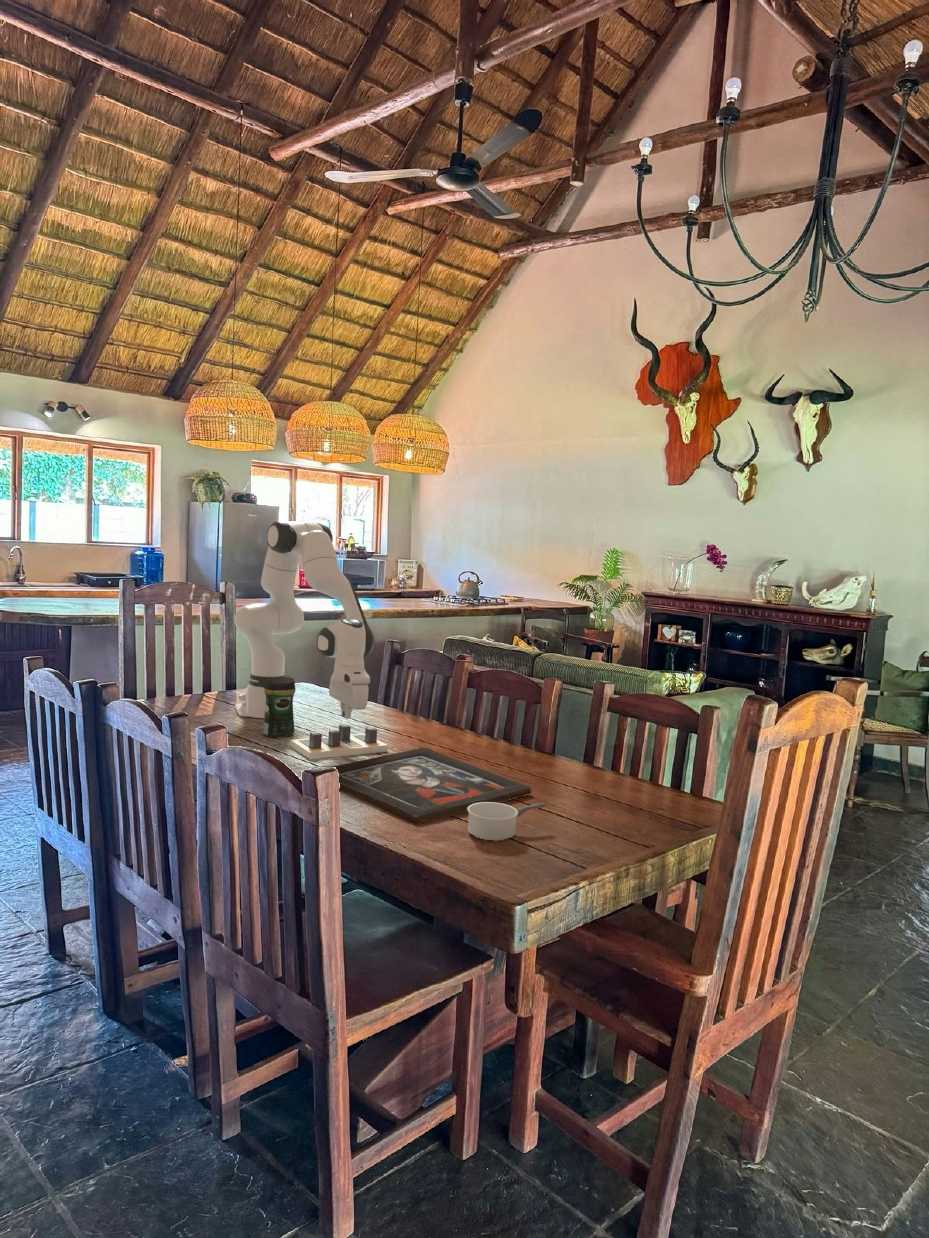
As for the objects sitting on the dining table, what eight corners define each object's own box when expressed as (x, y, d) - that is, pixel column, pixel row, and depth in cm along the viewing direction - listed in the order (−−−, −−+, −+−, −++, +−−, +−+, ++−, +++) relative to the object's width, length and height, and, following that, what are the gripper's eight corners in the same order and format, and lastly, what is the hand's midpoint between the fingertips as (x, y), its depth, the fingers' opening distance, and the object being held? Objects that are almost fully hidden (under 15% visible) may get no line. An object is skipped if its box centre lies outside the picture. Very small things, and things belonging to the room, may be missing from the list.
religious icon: (420, 754, 244) (420, 744, 243) (533, 796, 212) (534, 785, 212) (306, 777, 216) (307, 766, 215) (417, 829, 184) (418, 816, 184)
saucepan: (557, 834, 184) (559, 811, 183) (482, 847, 174) (484, 821, 173) (528, 818, 194) (530, 795, 193) (456, 829, 184) (457, 805, 183)
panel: (290, 746, 244) (290, 739, 243) (365, 739, 257) (365, 732, 257) (309, 759, 231) (309, 751, 231) (387, 751, 245) (387, 744, 245)
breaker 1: (309, 745, 237) (309, 731, 237) (317, 745, 238) (317, 731, 238) (313, 748, 235) (313, 734, 234) (321, 747, 236) (321, 733, 236)
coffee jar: (289, 730, 262) (291, 674, 260) (296, 736, 255) (299, 678, 254) (259, 732, 257) (261, 675, 256) (266, 738, 251) (268, 679, 249)
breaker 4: (364, 740, 247) (365, 727, 247) (372, 740, 248) (372, 726, 248) (369, 743, 244) (369, 729, 244) (376, 742, 246) (377, 728, 245)
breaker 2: (328, 744, 240) (328, 730, 240) (335, 743, 242) (336, 729, 241) (332, 746, 238) (333, 732, 237) (340, 745, 239) (340, 731, 239)
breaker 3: (338, 737, 249) (339, 724, 248) (345, 736, 250) (346, 723, 250) (342, 739, 246) (343, 726, 246) (350, 739, 248) (350, 725, 247)
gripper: (325, 666, 252) (322, 710, 253) (353, 679, 235) (350, 726, 236) (344, 666, 255) (341, 709, 257) (373, 679, 238) (369, 725, 240)
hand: (345, 717), depth 247 cm, fingers closed
